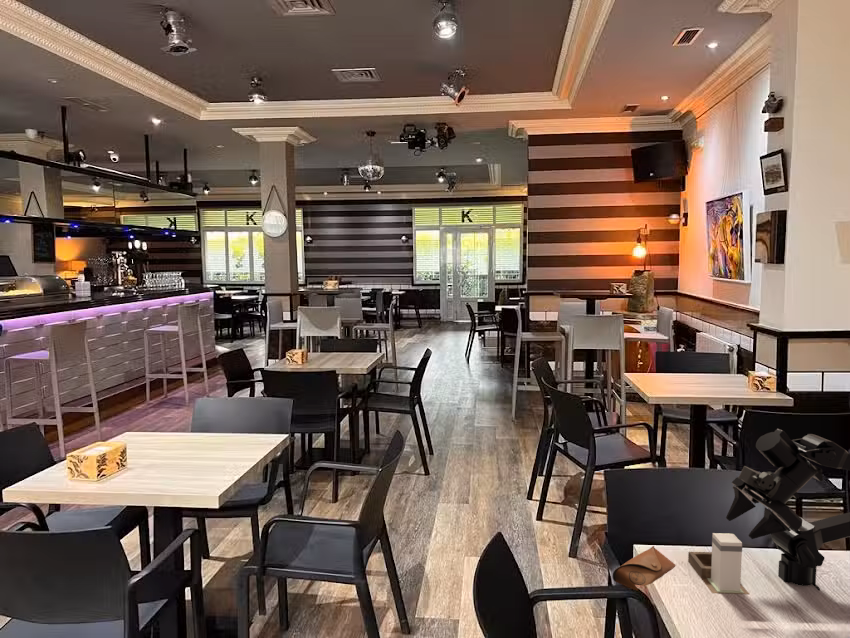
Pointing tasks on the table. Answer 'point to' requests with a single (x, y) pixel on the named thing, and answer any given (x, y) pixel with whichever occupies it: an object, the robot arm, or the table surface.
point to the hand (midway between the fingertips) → (738, 528)
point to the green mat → (723, 590)
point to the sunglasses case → (643, 569)
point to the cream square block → (726, 561)
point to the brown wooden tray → (705, 568)
